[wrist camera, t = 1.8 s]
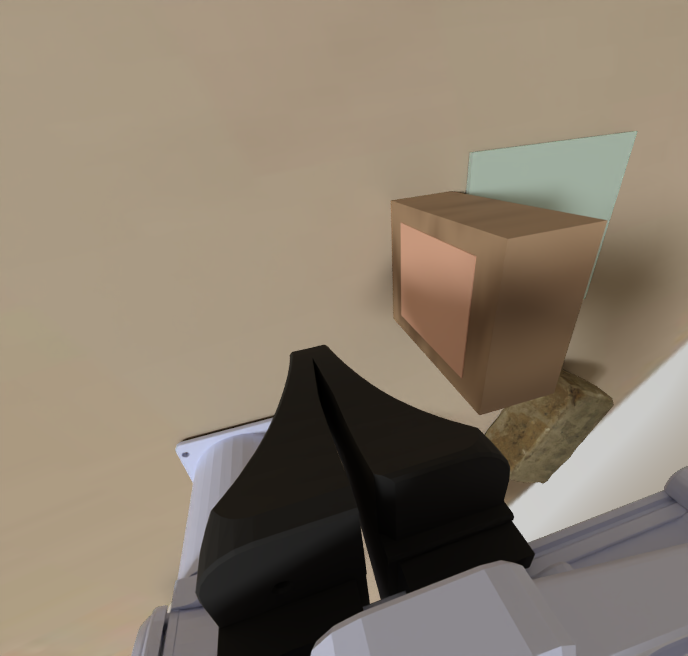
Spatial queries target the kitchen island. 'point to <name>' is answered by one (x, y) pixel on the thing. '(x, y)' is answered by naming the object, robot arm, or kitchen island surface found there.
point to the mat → (556, 175)
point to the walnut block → (491, 290)
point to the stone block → (548, 428)
